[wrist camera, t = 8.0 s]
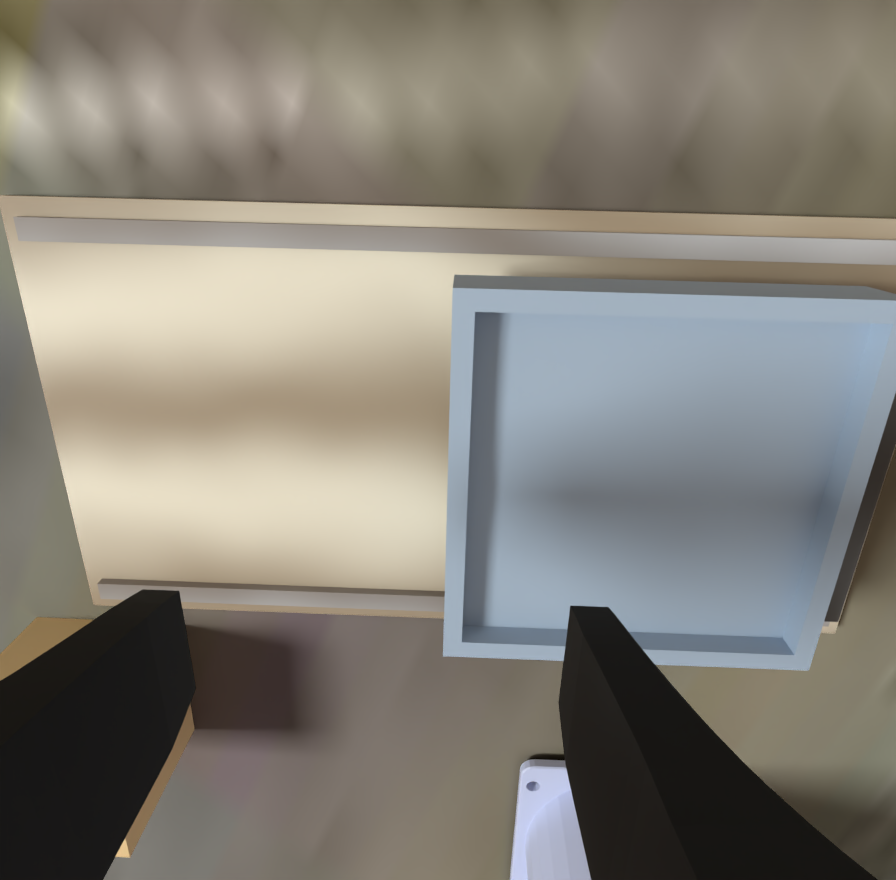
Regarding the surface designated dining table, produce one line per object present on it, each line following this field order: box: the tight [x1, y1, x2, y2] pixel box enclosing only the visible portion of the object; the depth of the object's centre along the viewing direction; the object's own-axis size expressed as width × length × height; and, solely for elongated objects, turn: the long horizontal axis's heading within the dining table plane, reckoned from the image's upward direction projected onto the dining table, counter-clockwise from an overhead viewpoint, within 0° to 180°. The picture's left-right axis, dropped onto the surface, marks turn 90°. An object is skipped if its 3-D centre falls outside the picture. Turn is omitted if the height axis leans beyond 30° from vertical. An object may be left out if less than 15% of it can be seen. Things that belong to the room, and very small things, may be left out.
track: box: [0, 195, 896, 633], centre depth 18 cm, size 13×25×2 cm, turn 89°
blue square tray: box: [443, 275, 896, 671], centre depth 17 cm, size 10×10×3 cm
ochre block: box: [0, 617, 195, 857], centre depth 21 cm, size 5×5×5 cm
